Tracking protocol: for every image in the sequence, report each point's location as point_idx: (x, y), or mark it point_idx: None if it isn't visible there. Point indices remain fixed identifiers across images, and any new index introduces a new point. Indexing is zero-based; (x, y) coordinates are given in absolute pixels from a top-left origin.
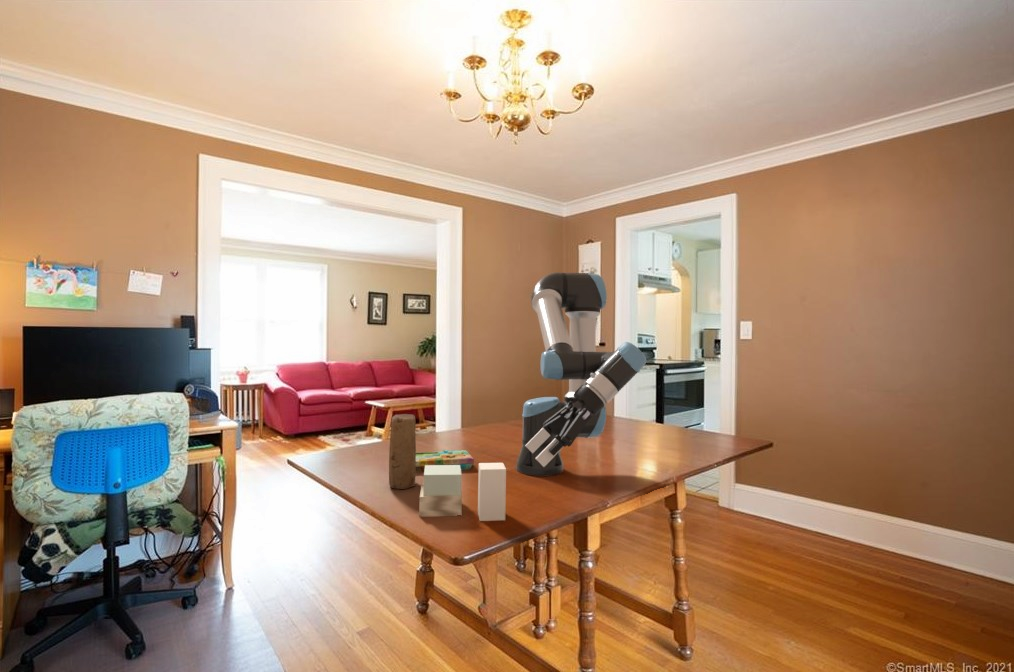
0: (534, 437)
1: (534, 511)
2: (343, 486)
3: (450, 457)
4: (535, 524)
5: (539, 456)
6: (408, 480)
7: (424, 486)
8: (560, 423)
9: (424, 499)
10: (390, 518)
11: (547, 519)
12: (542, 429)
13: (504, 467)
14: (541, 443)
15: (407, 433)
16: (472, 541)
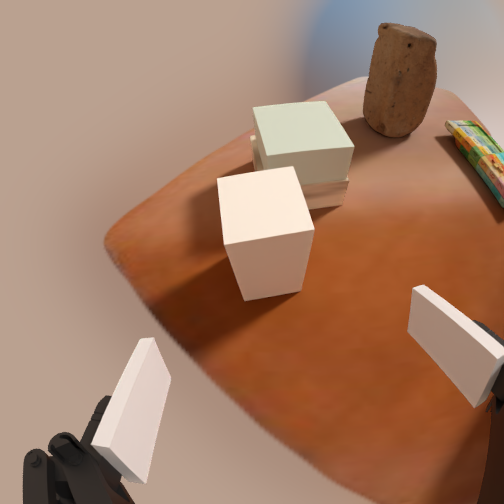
0: (448, 318)
1: (308, 367)
2: (353, 84)
3: (493, 165)
4: (221, 367)
5: (134, 353)
6: (375, 121)
7: (254, 126)
8: (490, 490)
9: (251, 144)
10: (242, 134)
11: (255, 397)
12: (489, 355)
13: (246, 238)
14: (441, 363)
15: (388, 51)
16: (144, 249)
